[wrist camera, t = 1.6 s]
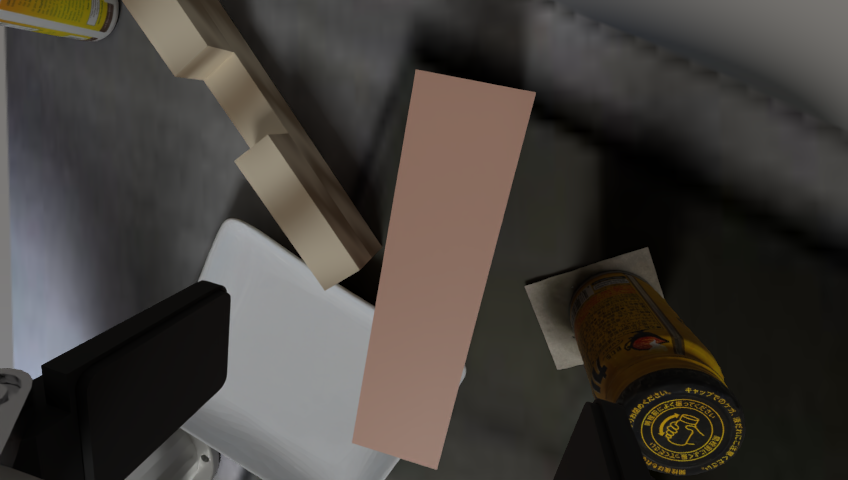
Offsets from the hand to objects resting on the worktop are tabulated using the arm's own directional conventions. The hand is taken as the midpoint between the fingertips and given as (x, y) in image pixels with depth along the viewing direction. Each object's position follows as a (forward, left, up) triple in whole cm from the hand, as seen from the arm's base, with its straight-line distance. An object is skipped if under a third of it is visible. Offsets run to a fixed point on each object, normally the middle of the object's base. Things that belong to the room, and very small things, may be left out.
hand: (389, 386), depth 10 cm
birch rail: (-1, +16, -20) cm, 26 cm away
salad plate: (-19, +4, -20) cm, 28 cm away
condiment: (0, -12, -20) cm, 23 cm away
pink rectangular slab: (0, 0, -20) cm, 20 cm away
